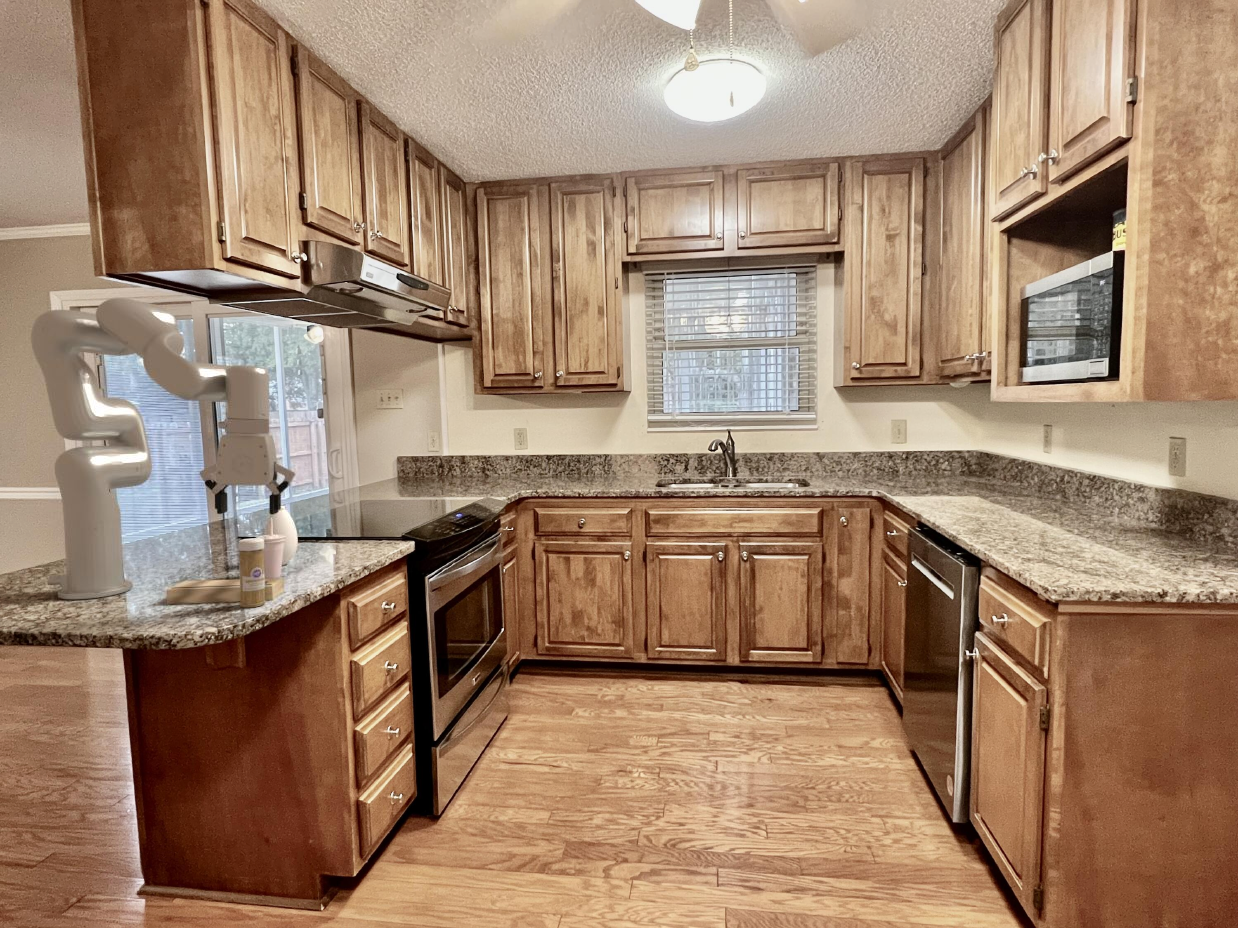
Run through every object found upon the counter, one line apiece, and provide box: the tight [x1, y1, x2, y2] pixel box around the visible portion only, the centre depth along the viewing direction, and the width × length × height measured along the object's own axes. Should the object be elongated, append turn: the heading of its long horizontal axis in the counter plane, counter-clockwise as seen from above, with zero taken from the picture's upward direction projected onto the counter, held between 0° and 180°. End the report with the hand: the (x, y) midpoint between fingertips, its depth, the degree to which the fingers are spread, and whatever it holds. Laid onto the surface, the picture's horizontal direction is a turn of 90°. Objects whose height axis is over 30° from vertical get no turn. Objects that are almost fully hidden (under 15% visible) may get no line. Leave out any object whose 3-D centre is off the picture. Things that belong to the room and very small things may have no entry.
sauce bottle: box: [263, 505, 299, 566], centre depth 167 cm, size 8×8×18 cm
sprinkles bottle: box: [237, 537, 266, 609], centre depth 131 cm, size 5×5×13 cm
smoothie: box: [255, 518, 286, 579], centre depth 155 cm, size 6×6×14 cm
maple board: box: [166, 577, 285, 605], centre depth 137 cm, size 20×7×3 cm, turn 100°
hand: (248, 513), depth 130 cm, fingers open, 9 cm apart
